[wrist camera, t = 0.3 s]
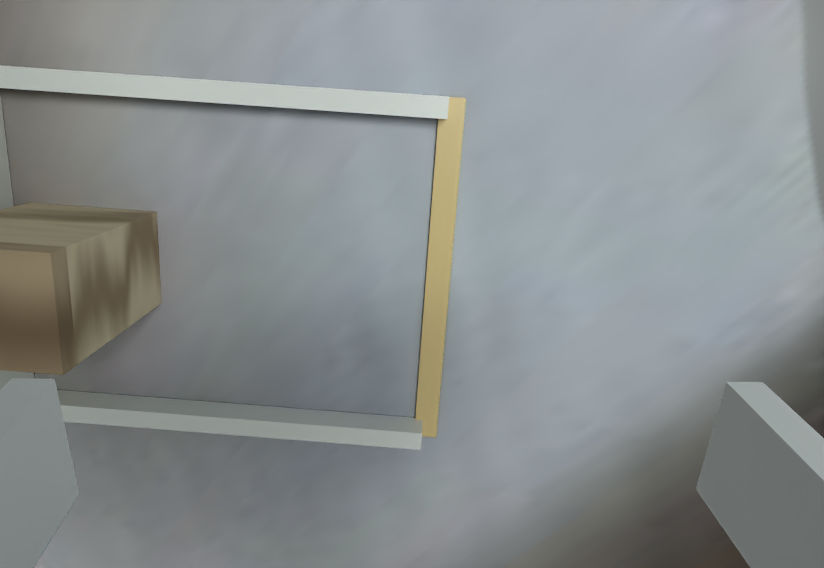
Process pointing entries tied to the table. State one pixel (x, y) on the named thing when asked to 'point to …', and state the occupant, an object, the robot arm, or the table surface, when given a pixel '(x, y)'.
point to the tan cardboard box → (72, 281)
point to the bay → (267, 417)
